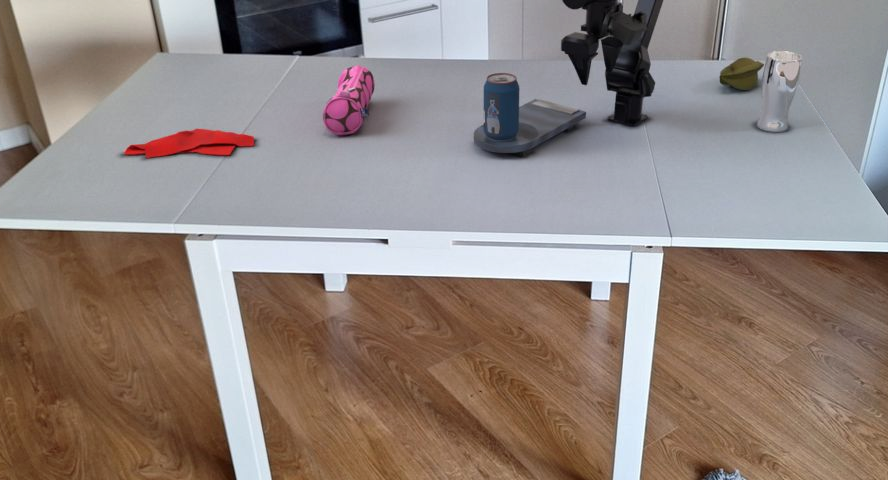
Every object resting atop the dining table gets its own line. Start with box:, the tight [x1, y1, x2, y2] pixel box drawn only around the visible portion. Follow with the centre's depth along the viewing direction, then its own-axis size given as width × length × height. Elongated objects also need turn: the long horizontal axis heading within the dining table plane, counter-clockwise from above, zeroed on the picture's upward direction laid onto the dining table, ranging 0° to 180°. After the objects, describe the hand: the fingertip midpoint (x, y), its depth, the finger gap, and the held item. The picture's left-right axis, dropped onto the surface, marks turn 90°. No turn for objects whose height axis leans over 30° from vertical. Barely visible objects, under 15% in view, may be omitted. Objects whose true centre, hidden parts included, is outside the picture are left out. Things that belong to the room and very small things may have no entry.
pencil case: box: [322, 64, 376, 136], centre depth 195 cm, size 21×10×10 cm, turn 178°
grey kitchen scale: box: [473, 98, 587, 157], centre depth 185 cm, size 26×13×3 cm, turn 140°
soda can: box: [483, 72, 520, 142], centre depth 176 cm, size 7×7×12 cm
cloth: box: [123, 128, 255, 159], centre depth 187 cm, size 26×14×2 cm, turn 89°
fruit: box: [719, 57, 765, 91], centre depth 207 cm, size 11×12×7 cm
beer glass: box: [756, 50, 803, 133], centre depth 183 cm, size 7×7×15 cm
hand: (596, 78), depth 177 cm, fingers open, 9 cm apart
